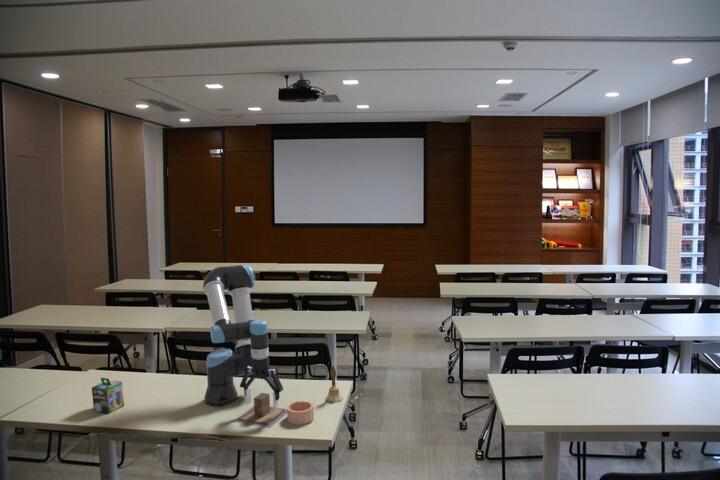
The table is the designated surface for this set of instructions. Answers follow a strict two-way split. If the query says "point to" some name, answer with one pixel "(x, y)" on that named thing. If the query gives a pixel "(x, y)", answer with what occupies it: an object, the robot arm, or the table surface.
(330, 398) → the hand bell
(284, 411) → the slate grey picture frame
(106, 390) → the chalk box
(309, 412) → the terracotta bowl
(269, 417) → the walnut lid
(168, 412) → the table surface
